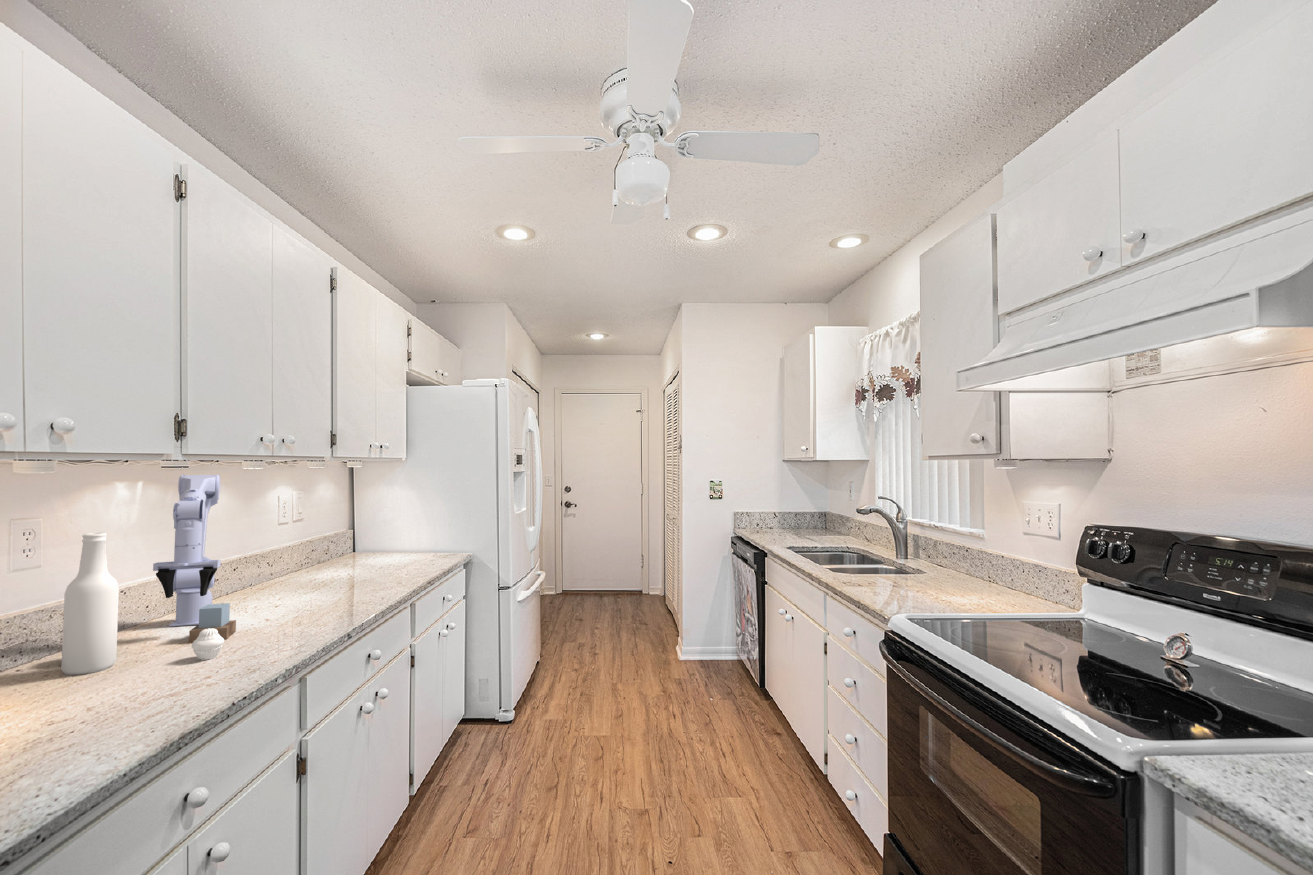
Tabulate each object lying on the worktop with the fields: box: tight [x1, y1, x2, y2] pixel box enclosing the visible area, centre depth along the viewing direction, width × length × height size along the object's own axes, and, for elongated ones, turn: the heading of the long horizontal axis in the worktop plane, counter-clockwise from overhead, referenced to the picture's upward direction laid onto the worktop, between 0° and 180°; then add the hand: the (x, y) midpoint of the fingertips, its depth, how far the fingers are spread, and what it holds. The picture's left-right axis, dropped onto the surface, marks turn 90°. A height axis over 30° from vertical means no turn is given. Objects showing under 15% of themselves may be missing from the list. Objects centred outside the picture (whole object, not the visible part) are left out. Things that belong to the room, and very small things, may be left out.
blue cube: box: [199, 602, 231, 629], centre depth 155 cm, size 5×5×5 cm
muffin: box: [191, 628, 225, 661], centre depth 138 cm, size 6×6×7 cm
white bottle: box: [60, 532, 120, 676], centre depth 131 cm, size 9×9×30 cm
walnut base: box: [188, 619, 237, 644], centre depth 155 cm, size 8×8×4 cm
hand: (186, 596), depth 157 cm, fingers open, 7 cm apart
